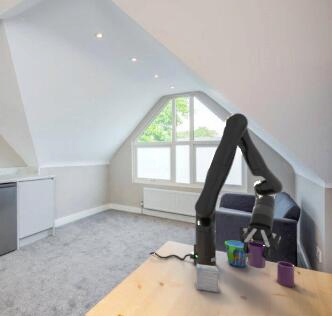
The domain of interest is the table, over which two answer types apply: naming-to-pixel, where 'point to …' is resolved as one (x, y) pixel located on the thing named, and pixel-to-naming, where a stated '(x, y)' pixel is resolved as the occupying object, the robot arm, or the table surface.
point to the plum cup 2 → (285, 274)
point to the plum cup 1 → (256, 254)
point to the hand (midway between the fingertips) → (255, 254)
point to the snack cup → (236, 253)
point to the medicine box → (207, 277)
